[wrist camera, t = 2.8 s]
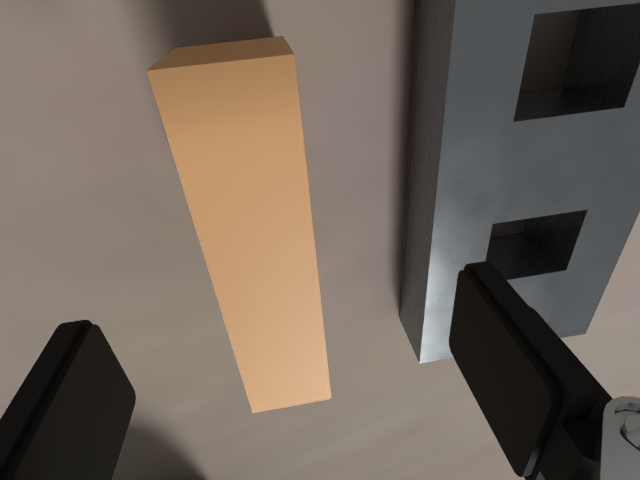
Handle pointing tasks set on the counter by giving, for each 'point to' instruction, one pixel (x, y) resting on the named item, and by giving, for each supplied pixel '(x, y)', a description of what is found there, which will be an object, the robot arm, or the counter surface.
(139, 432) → the counter surface
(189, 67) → the tan bridge block
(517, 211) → the dark gray slotted block
